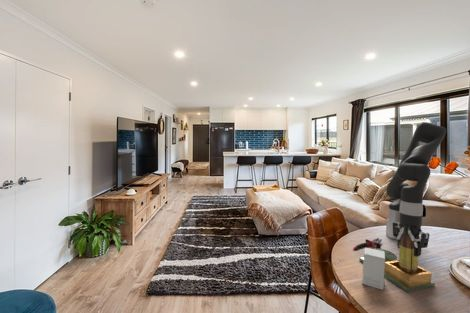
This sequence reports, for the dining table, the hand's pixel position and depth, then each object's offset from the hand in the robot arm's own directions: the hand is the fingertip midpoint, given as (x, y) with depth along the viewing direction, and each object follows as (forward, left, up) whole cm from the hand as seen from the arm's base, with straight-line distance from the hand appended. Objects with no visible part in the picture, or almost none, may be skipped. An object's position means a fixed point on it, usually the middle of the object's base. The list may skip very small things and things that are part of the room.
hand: (408, 252), depth 96 cm
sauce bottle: (0, 0, -8) cm, 8 cm away
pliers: (-29, +10, -13) cm, 33 cm away
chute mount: (-6, 0, -12) cm, 13 cm away
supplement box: (-2, -15, -12) cm, 20 cm away
